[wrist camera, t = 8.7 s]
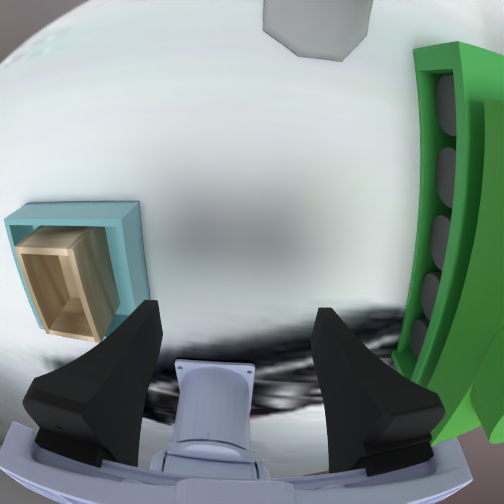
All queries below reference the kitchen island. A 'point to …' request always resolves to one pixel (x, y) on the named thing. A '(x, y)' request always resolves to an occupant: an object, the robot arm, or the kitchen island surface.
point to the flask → (318, 25)
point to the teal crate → (118, 237)
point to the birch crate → (70, 279)
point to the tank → (459, 241)
